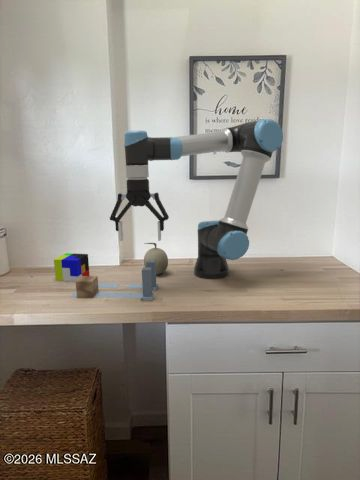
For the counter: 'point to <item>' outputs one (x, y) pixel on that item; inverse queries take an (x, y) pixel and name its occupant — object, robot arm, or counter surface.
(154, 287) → the lane
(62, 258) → the puzzle toy
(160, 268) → the fruit
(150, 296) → the strip
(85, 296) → the cube
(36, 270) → the counter surface
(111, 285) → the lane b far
